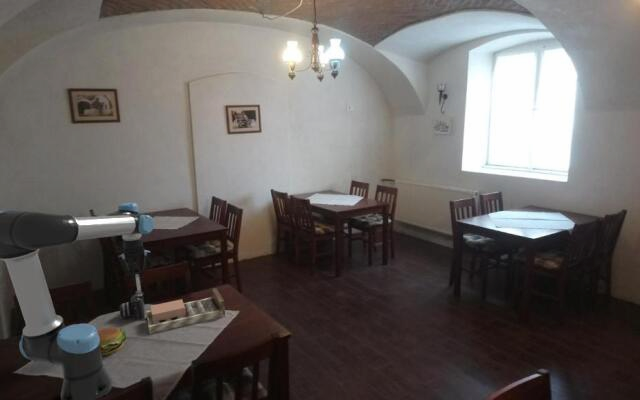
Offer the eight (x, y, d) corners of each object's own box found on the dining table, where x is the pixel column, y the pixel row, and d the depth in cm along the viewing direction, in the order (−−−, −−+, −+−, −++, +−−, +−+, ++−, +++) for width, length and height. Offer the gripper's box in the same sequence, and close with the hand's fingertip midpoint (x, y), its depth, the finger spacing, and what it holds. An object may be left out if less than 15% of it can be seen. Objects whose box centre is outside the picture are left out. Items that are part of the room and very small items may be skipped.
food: (91, 363, 159) (88, 344, 157) (87, 346, 170) (84, 329, 169) (129, 351, 166) (127, 333, 165) (124, 336, 178) (121, 319, 176)
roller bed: (149, 333, 179) (147, 317, 178) (147, 317, 194) (145, 302, 193) (225, 315, 193) (223, 300, 192) (217, 302, 208) (216, 288, 206)
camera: (121, 311, 202) (118, 292, 200) (145, 306, 206) (143, 287, 204) (121, 323, 189) (118, 303, 187) (146, 318, 193) (144, 298, 191)
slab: (153, 322, 182) (152, 314, 182) (151, 312, 191) (150, 305, 190) (185, 314, 188) (185, 307, 188) (182, 306, 197) (182, 299, 196)
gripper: (115, 243, 172) (123, 295, 176) (149, 238, 177) (155, 289, 182) (115, 238, 178) (122, 289, 183) (148, 234, 184) (154, 283, 188)
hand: (139, 289), depth 182 cm, fingers closed
